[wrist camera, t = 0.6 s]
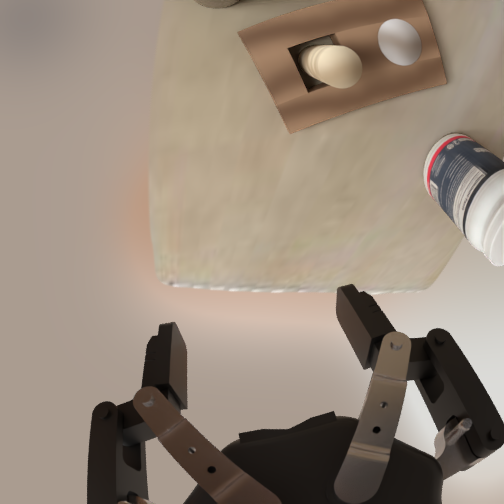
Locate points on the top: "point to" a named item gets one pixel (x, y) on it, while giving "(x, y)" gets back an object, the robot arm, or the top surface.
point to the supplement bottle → (216, 3)
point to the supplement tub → (469, 191)
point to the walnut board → (357, 39)
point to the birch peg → (331, 64)
